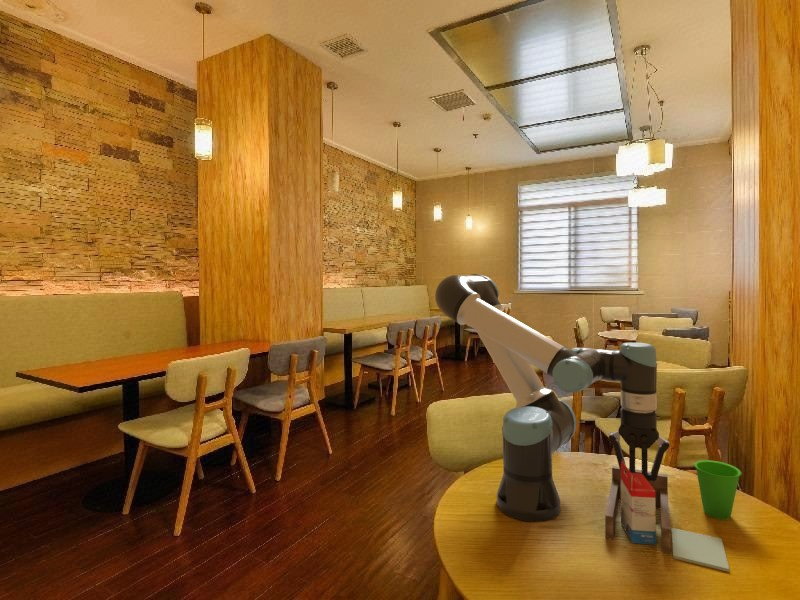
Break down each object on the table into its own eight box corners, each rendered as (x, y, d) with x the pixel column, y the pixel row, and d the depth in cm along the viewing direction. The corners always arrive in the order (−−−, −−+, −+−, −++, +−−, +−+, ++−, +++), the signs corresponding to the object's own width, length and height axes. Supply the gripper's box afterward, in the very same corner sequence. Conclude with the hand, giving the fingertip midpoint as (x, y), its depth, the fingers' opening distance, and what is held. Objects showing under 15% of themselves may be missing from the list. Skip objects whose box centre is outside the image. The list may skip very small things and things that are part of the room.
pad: (673, 558, 88) (673, 555, 88) (671, 530, 98) (671, 527, 98) (729, 572, 84) (729, 568, 84) (721, 541, 93) (721, 538, 93)
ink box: (656, 545, 92) (656, 477, 92) (631, 543, 93) (631, 475, 93) (643, 523, 101) (642, 460, 100) (619, 521, 102) (619, 459, 101)
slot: (605, 537, 96) (605, 501, 95) (612, 496, 113) (612, 465, 113) (670, 553, 90) (670, 515, 89) (667, 506, 107) (667, 474, 107)
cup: (743, 528, 98) (744, 479, 97) (694, 517, 102) (694, 471, 102) (738, 510, 105) (739, 464, 105) (693, 500, 110) (693, 457, 109)
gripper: (606, 409, 105) (607, 506, 106) (671, 416, 98) (671, 520, 99) (609, 401, 111) (609, 493, 112) (669, 407, 105) (669, 504, 106)
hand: (638, 505), depth 106 cm, fingers closed
